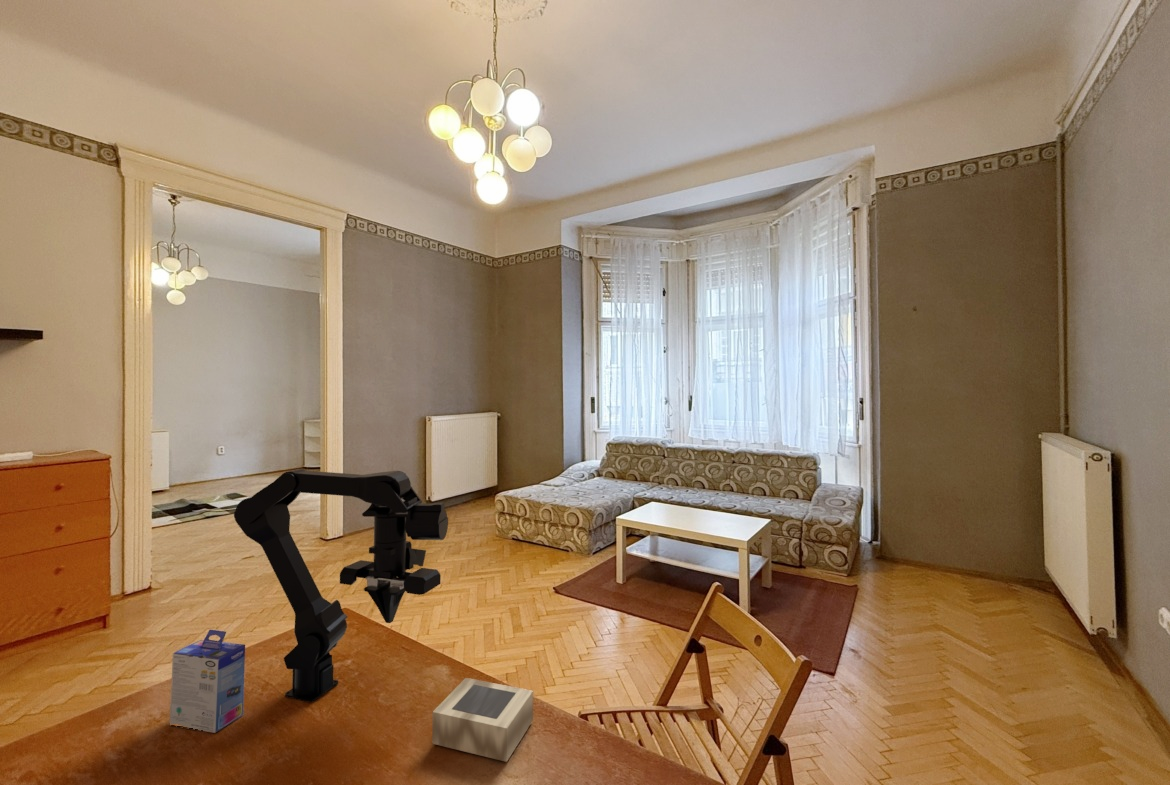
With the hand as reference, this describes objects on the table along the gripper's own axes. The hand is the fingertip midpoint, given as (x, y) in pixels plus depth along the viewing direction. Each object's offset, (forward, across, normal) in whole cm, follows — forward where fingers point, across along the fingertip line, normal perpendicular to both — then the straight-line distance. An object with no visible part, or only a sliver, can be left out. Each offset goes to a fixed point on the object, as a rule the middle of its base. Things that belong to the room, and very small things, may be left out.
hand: (389, 622), depth 92 cm
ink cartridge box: (+13, +24, +16) cm, 32 cm away
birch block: (+10, -16, +5) cm, 20 cm away
